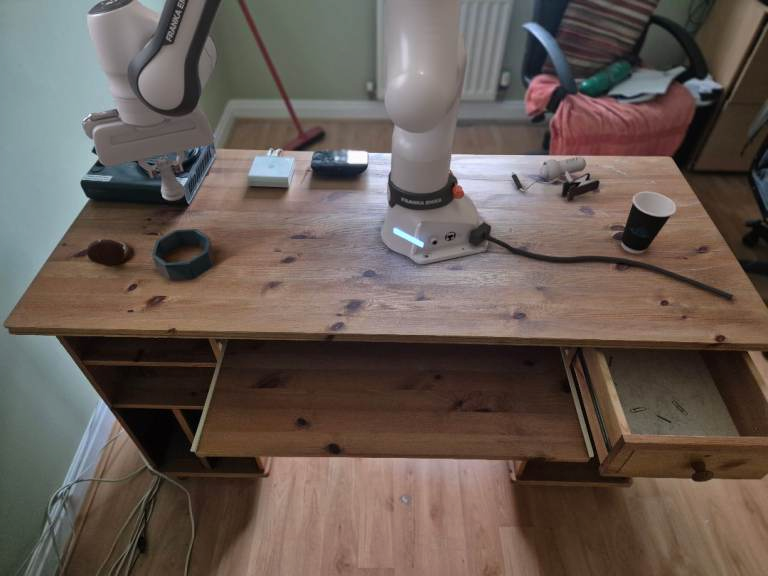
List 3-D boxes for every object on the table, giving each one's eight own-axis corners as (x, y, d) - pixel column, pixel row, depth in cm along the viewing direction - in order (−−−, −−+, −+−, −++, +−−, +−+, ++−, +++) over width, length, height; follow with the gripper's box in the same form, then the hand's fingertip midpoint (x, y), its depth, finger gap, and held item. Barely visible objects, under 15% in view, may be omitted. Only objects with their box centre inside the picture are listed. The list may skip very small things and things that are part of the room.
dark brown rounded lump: (131, 242, 102) (118, 213, 96) (130, 268, 96) (117, 239, 91) (89, 249, 100) (73, 221, 94) (85, 276, 94) (69, 247, 89)
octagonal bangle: (216, 243, 102) (212, 227, 99) (210, 278, 95) (205, 262, 92) (164, 246, 101) (158, 230, 98) (154, 281, 94) (148, 266, 91)
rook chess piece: (190, 192, 100) (179, 157, 95) (175, 204, 97) (163, 168, 92) (173, 186, 102) (161, 151, 96) (157, 198, 99) (144, 162, 93)
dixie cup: (621, 259, 101) (642, 215, 93) (607, 234, 107) (626, 191, 99) (659, 258, 102) (683, 215, 94) (644, 233, 107) (665, 190, 99)
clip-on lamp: (521, 213, 116) (599, 196, 115) (522, 193, 111) (603, 175, 110) (507, 180, 123) (581, 164, 122) (508, 160, 118) (584, 142, 117)
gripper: (79, 124, 81) (111, 195, 90) (206, 100, 87) (223, 169, 97) (76, 108, 84) (107, 177, 94) (198, 86, 91) (215, 153, 101)
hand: (167, 173), depth 96 cm, fingers closed on rook chess piece, 3 cm apart
